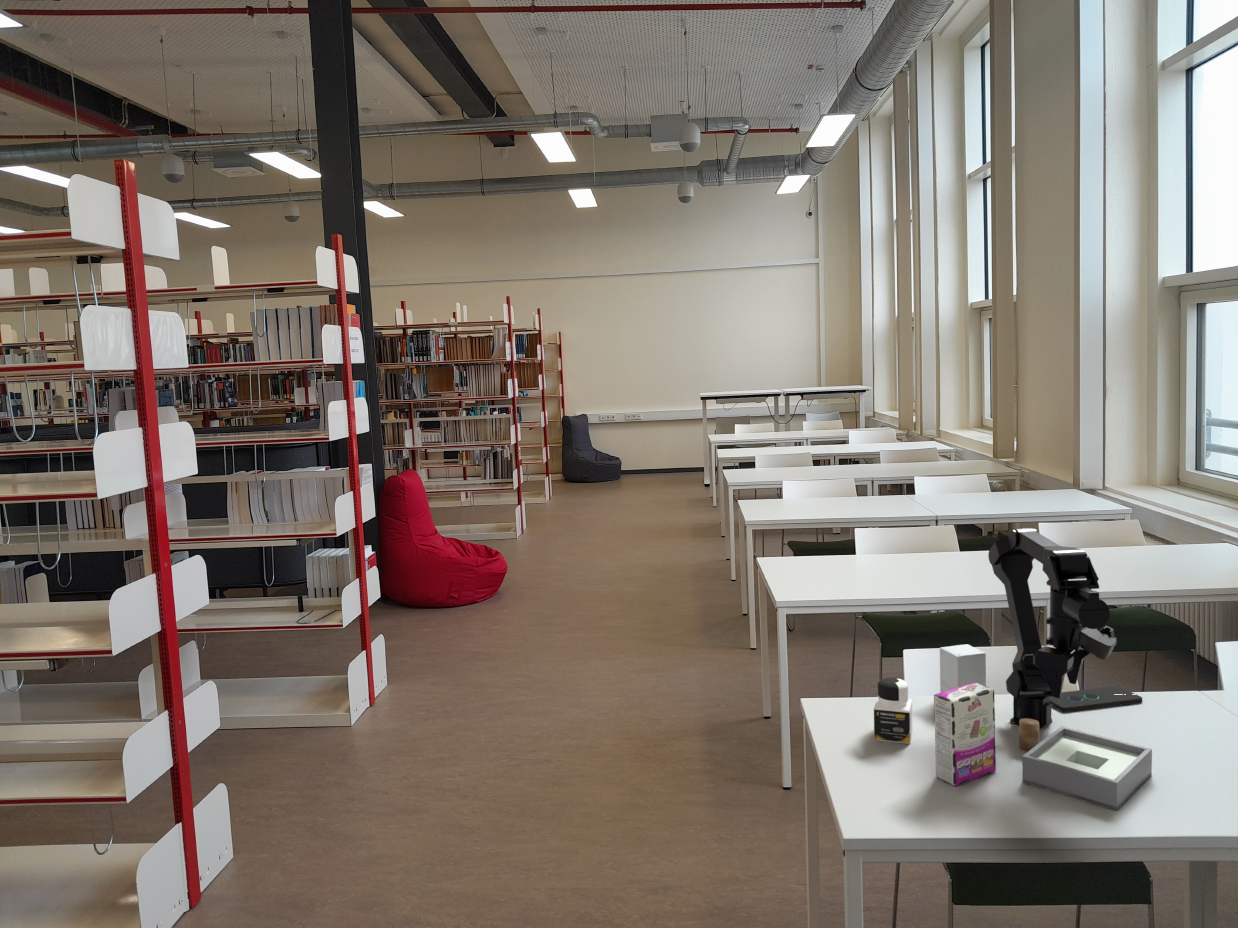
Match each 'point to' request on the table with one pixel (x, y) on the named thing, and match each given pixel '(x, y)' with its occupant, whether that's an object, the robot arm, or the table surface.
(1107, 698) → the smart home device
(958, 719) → the candy bar box
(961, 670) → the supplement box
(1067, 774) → the box
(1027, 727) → the peg
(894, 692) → the medicine bottle
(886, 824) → the table surface
